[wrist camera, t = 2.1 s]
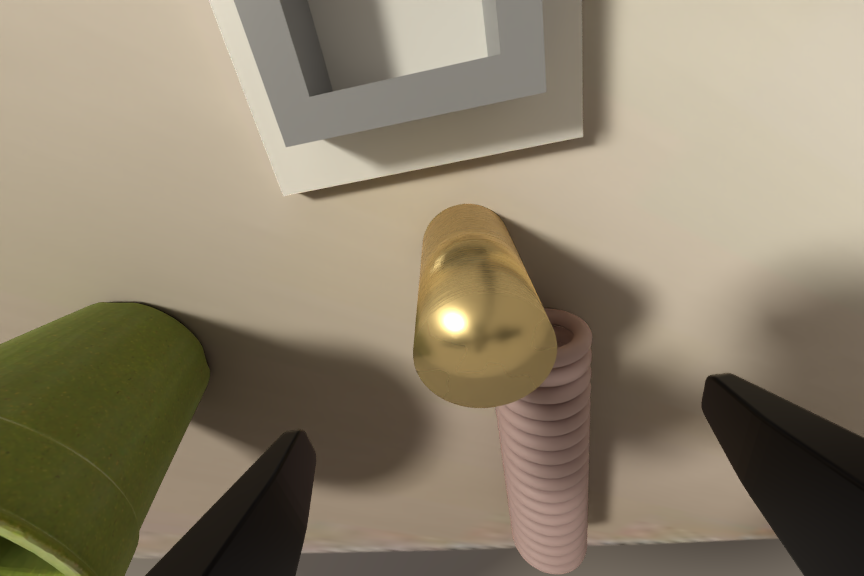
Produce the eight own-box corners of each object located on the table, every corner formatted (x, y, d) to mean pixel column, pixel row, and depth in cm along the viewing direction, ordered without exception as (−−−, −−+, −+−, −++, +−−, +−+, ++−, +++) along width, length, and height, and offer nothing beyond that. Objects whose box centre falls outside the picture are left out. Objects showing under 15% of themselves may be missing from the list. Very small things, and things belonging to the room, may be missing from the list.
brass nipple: (504, 196, 17) (554, 281, 10) (513, 277, 19) (560, 398, 12) (414, 213, 17) (398, 306, 10) (431, 290, 19) (428, 415, 12)
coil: (483, 351, 16) (515, 580, 24) (606, 343, 15) (595, 583, 23) (483, 293, 20) (511, 506, 28) (579, 284, 19) (578, 507, 27)
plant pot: (241, 450, 25) (109, 699, 15) (37, 397, 23) (-273, 644, 13) (276, 302, 19) (108, 536, 9) (14, 217, 17) (-543, 400, 8)
